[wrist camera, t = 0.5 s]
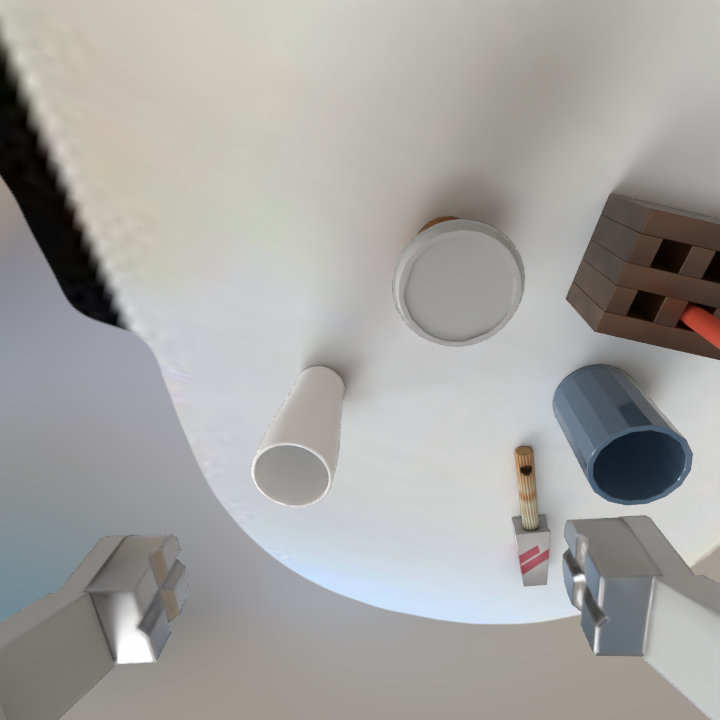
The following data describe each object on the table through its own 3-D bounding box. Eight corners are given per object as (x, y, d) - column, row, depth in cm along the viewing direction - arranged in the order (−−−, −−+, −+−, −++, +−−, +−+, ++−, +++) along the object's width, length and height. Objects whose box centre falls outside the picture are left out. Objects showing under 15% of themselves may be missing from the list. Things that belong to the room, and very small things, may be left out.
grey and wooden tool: (521, 596, 60) (508, 459, 52) (516, 578, 62) (504, 445, 55) (554, 594, 59) (546, 456, 52) (548, 576, 62) (540, 441, 54)
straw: (645, 276, 45) (757, 349, 31) (662, 280, 45) (782, 355, 31) (637, 292, 46) (743, 371, 31) (654, 296, 46) (767, 377, 31)
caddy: (609, 193, 42) (651, 208, 35) (764, 229, 42) (837, 251, 35) (565, 299, 47) (594, 331, 39) (706, 331, 47) (760, 369, 40)
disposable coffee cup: (452, 173, 43) (467, 191, 32) (520, 252, 45) (557, 293, 34) (373, 250, 46) (363, 289, 35) (441, 319, 48) (451, 376, 38)
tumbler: (571, 356, 49) (612, 416, 39) (650, 374, 49) (711, 438, 39) (540, 423, 53) (571, 493, 43) (614, 440, 53) (662, 513, 43)
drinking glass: (364, 383, 52) (350, 474, 39) (327, 423, 55) (301, 521, 42) (313, 345, 51) (280, 426, 37) (277, 388, 53) (234, 478, 40)
